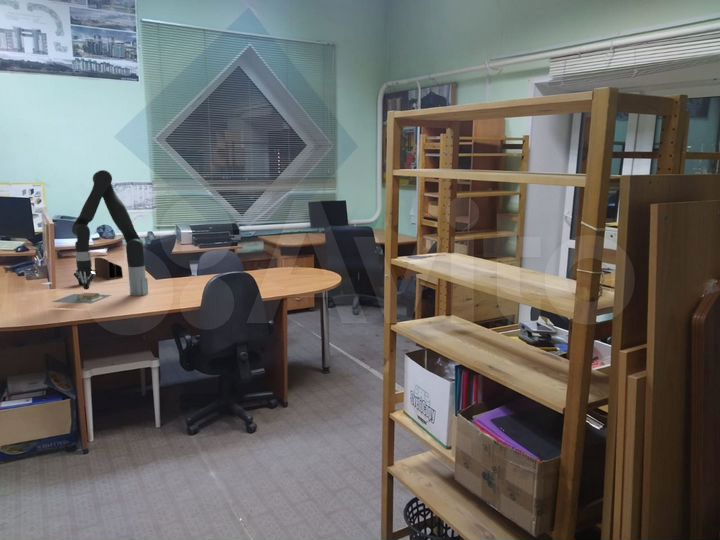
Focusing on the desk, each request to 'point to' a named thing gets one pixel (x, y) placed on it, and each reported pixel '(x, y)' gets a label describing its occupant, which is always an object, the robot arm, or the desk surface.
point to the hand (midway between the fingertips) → (86, 289)
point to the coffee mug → (89, 282)
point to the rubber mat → (73, 299)
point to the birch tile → (88, 296)
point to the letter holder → (107, 269)
